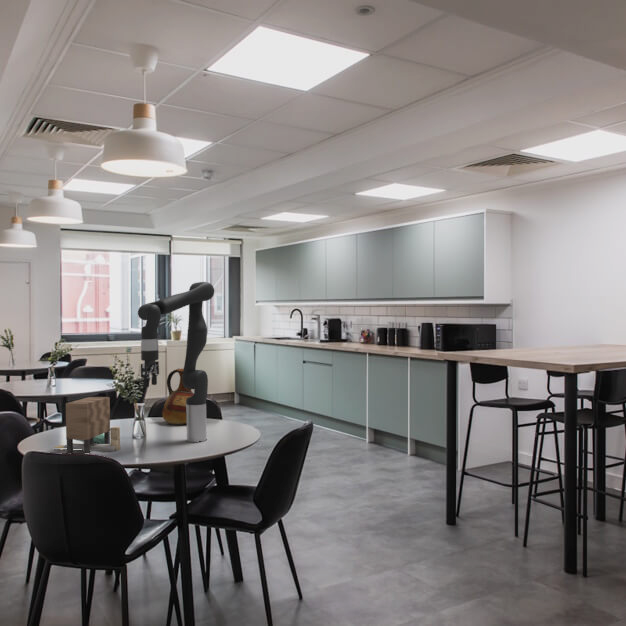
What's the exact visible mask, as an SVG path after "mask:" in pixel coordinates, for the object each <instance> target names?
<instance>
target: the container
mask: <svg viewBox="0 0 626 626" xmlns="http://www.w3.org/2000/svg"><path fill="white" fill-rule="evenodd" d="M94 442H96V443H95V444H98V443H99V444H104V433H103V434H101V435H98V436H96V437H94Z"/></svg>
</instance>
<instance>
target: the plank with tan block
mask: <svg viewBox="0 0 626 626" xmlns="http://www.w3.org/2000/svg"><path fill="white" fill-rule="evenodd" d="M64 448H67V444H65V446H64ZM73 449H82V450H84V443H74V442H73ZM119 449H120V450H121V427H120V426H112V427H110V444H98V443H94V444H90V450H91V451H90V452H116V451H115V450H118V451H120V450H119Z"/></svg>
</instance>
